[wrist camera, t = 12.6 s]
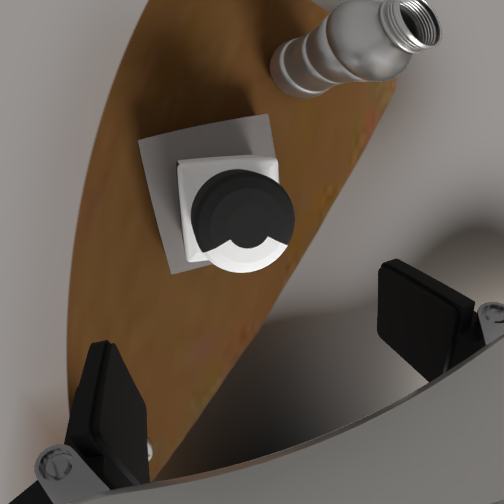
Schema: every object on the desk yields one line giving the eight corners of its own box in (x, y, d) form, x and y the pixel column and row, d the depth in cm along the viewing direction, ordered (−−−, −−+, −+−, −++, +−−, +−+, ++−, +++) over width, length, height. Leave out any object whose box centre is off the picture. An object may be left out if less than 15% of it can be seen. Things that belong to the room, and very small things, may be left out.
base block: (276, 233, 36) (288, 243, 32) (171, 260, 34) (171, 274, 30) (256, 117, 31) (268, 113, 27) (141, 141, 29) (137, 140, 25)
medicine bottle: (175, 160, 27) (179, 168, 16) (253, 154, 28) (307, 160, 17) (181, 237, 29) (191, 293, 18) (256, 228, 31) (307, 276, 20)
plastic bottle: (294, 36, 29) (413, -38, 11) (330, 82, 32) (469, 50, 13) (251, 65, 29) (352, -14, 11) (291, 113, 32) (424, 90, 13)
